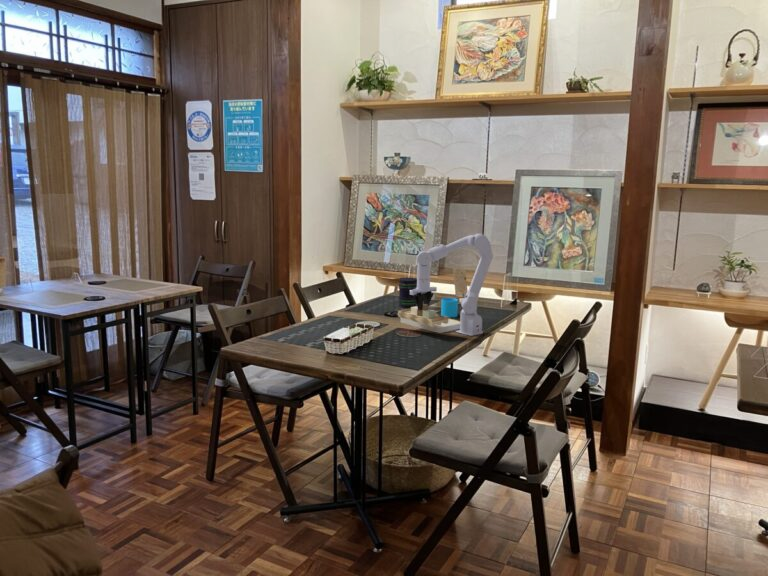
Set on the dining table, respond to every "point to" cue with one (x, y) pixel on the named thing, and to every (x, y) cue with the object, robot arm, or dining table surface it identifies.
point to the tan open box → (418, 318)
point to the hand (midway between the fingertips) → (423, 309)
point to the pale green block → (429, 314)
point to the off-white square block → (414, 310)
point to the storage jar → (407, 292)
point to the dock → (435, 325)
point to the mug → (449, 307)
